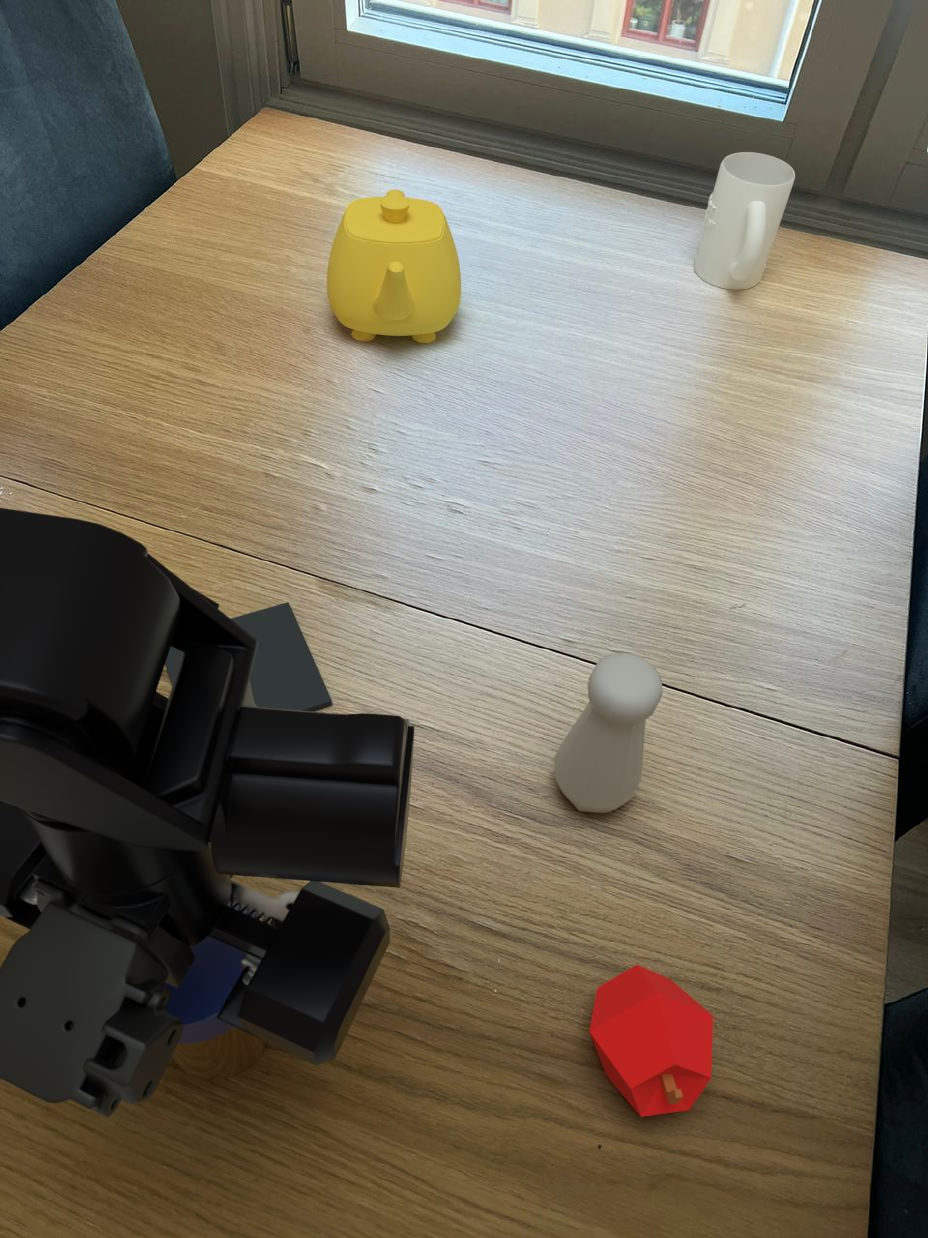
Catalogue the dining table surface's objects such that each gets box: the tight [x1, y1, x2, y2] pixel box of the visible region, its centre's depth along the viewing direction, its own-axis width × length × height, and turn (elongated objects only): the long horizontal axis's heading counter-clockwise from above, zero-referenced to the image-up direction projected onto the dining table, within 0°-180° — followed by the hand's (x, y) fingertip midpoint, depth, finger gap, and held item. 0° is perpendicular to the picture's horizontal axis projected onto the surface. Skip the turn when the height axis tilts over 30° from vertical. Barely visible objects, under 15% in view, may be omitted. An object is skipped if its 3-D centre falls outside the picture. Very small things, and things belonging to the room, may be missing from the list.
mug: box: [693, 151, 796, 291], centre depth 103 cm, size 8×12×12 cm
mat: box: [165, 601, 333, 712], centre depth 68 cm, size 10×10×1 cm
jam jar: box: [171, 1027, 269, 1080], centre depth 48 cm, size 6×6×10 cm
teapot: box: [326, 189, 462, 344], centre depth 93 cm, size 14×20×13 cm
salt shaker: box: [553, 652, 663, 814], centre depth 59 cm, size 6×6×13 cm
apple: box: [588, 964, 714, 1118], centre depth 50 cm, size 7×7×8 cm
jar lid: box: [163, 901, 255, 1043], centre depth 45 cm, size 7×7×3 cm
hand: (196, 969), depth 46 cm, fingers closed on jar lid, 7 cm apart
